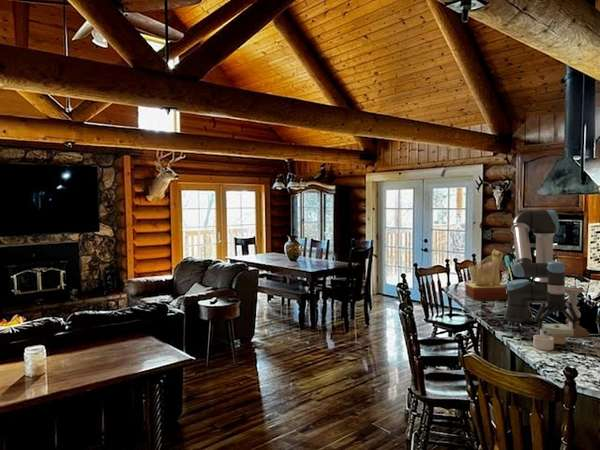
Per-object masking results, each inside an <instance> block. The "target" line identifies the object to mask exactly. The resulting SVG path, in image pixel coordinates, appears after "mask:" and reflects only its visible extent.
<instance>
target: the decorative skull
mask: <svg viewBox="0 0 600 450" xmlns="http://www.w3.org/2000/svg"><path fill="white" fill-rule="evenodd" d="M488 262H489V263H490V264H491V263H492V262H490V261H488ZM488 262H487V263H484V264H488V265H485V266H484V264H483V263H482V264H483V265H482V264H481V265H482V266H484V268H485V267H486V268H487V273H489V272H488V269H489V265H490V264H489V263H488ZM482 266H481V268H480V269H481V270H482V268H483V267H482ZM487 266H488V267H487ZM484 268H483V270H484ZM490 268H491V269H492V267H490ZM491 269H490V270H491ZM483 270H482V271H483ZM490 270H489V271H490ZM480 272H481V271H480ZM485 274H486V270H485ZM491 274H492V273H491ZM499 274H500V284H501V283H502V282H501V281H502V279H503V273H502V270H501V269H500V267H499ZM486 275H487V274H486ZM488 275H489V274H488ZM491 276H492V275H491Z"/></svg>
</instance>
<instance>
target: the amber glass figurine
mask: <svg viewBox="0 0 600 450" xmlns="http://www.w3.org/2000/svg"><path fill="white" fill-rule="evenodd" d="M503 257H504V253H503V252H502V251H499V250H496V248H494V249H493V250H492V252H491V255H489V256H486V257H485V258H484V259H482V260H481V261H480V262H479V263H478V264H475V265H470V264H469V265H468V268H469V269H468V270H469V274H470V276H471V280H472V282H469V283H468V282H467V283H465V296H466V297H468V298H470V299H471V300H473V301H479V300H480V301H482V300H506V299H507V286H506V285H503V284H501V283H500V274H499V268H500V266H501V261H502V259H503ZM489 262H490V263H491V264H490V263H489ZM485 263H489V264H490V265H489V269H488V272H489V273H487V268H486V267H485V268H484V266H485V265H488V264H485ZM483 264H484V266H482V265H483ZM481 266H482V267H483V268H484V270H483V268H482V270H483V271H482V270H481V269H480V268H481ZM487 267H488V266H487ZM490 267H492V269H491V268H490ZM490 269H491V270H490ZM485 270H486V274H487V275H486V274H485ZM489 270H490V271H489ZM480 271H481V272H480ZM491 273H492V274H491ZM488 274H489V275H488ZM491 275H492V276H491Z"/></svg>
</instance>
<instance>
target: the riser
mask: <svg viewBox="0 0 600 450" xmlns="http://www.w3.org/2000/svg"><path fill="white" fill-rule="evenodd" d="M546 335H548V336H551V337H553V338H554V345H555V344H556V345H557V344H558V345H559V344H560V345H561V344H566V343H567V339H566V337H567V336H566V334H549V333H547V332H546Z"/></svg>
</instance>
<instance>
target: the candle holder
mask: <svg viewBox="0 0 600 450" xmlns="http://www.w3.org/2000/svg"><path fill="white" fill-rule="evenodd" d="M584 292H585V289H583V288H580V287H572V286H565V293H566V294H567V295H568V299H566V303H567V302H570V303H572V308H573V309H574V311H575V313H576V315H577V317H578V319H579V318H581V315H582V314H581V312H580V310H579V309H578V307H577V305H578V303H579V300H578V298H577V297H578V295H579V294H580V293H584ZM565 310H566V311H567V313H568V314H569V315H570V316H571V317H572V318H573V316H572V315H571V313H570V311H569V309H568V307H567V308H566V309H565ZM564 316H565V317H566V315H565V314H564ZM573 319H574V318H573ZM569 321H570V320H569V319H568V318H567V317H566V319H565V323H564V325H566V326H567V327H569ZM570 322H571V321H570ZM573 330H574V334H573V336H571V335H569V334H566V337H568V338H587V337H590V335H591V334H590V332H588V329H587V328H584V327H582V326H581V325H580V320H579V321H576V323H575V328H574V329H573Z"/></svg>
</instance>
